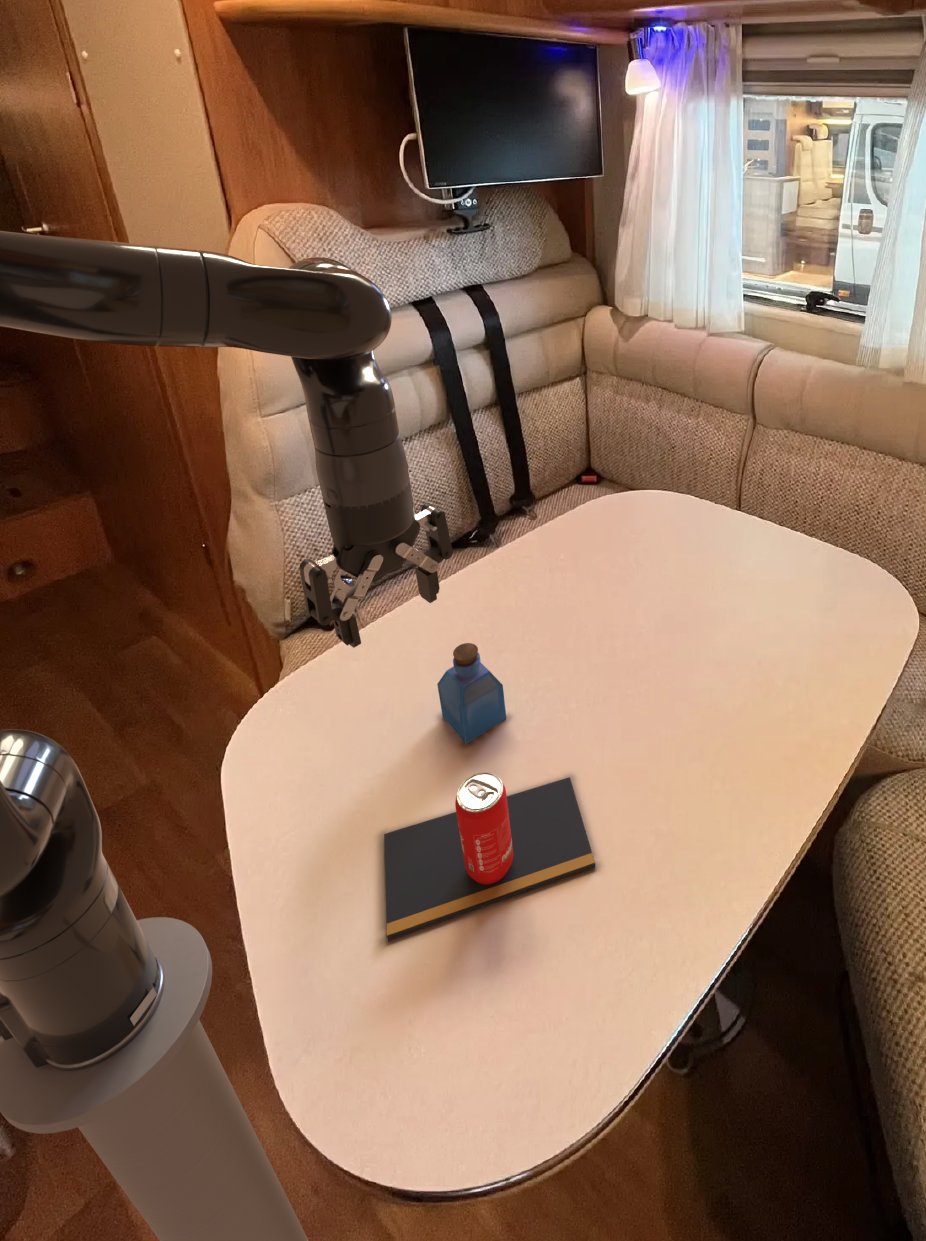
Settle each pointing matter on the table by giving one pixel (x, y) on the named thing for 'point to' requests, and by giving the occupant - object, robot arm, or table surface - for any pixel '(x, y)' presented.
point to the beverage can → (484, 827)
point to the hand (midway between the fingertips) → (391, 619)
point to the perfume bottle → (470, 695)
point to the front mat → (435, 869)
